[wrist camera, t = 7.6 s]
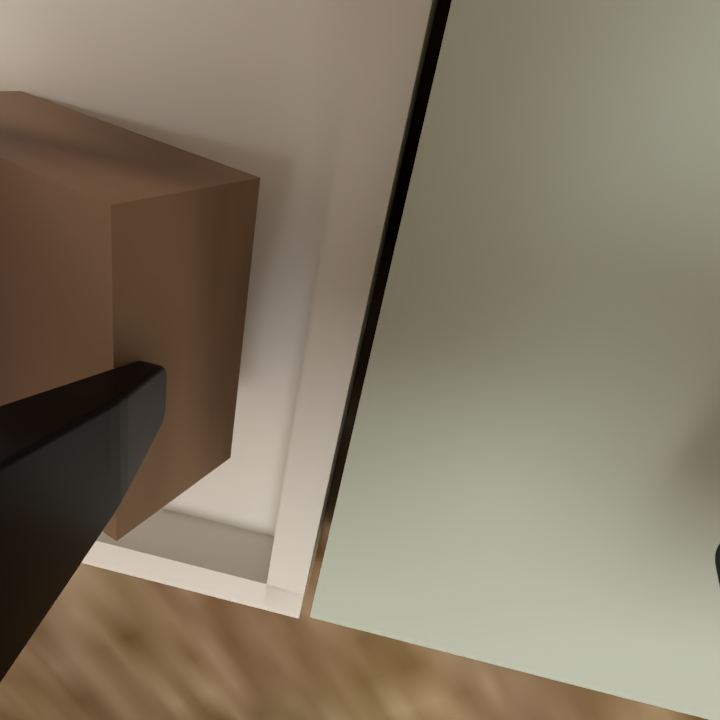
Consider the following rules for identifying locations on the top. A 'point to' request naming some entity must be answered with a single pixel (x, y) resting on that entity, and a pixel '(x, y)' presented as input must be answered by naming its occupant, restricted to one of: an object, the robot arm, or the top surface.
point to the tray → (271, 237)
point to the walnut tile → (124, 279)
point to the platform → (551, 360)
